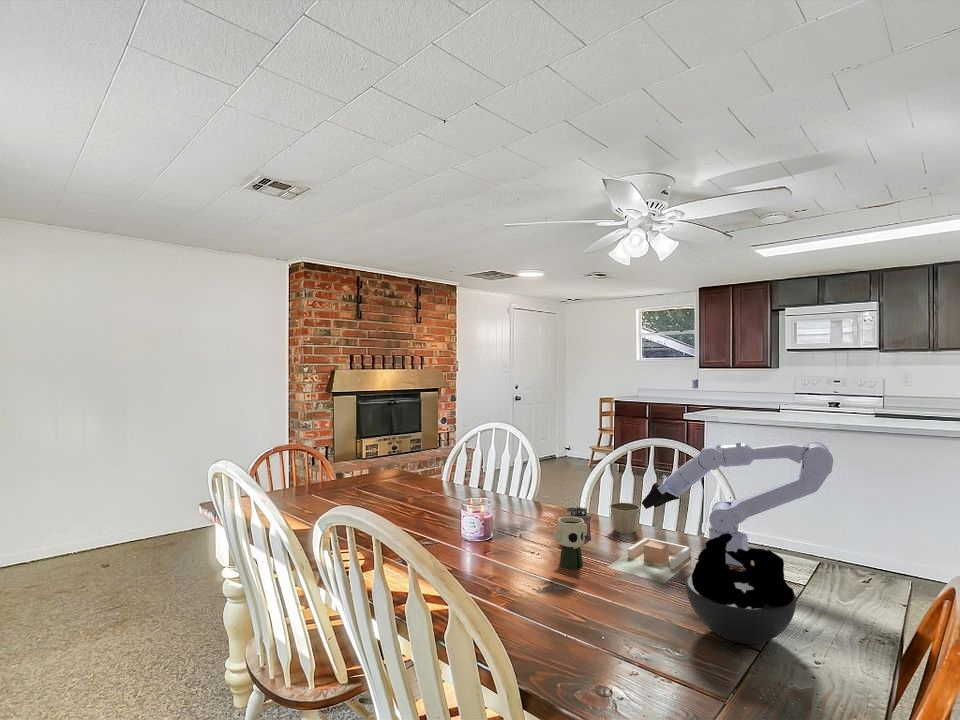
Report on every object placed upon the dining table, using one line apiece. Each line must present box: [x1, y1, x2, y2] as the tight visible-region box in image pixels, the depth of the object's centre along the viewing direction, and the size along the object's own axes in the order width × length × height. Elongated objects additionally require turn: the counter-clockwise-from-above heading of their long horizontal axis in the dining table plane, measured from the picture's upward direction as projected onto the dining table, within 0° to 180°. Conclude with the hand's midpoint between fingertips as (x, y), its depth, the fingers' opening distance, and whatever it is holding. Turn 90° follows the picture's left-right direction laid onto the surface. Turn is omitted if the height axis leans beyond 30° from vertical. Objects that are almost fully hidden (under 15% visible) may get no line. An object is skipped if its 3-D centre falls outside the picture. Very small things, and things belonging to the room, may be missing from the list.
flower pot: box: [609, 502, 641, 534], centre depth 174 cm, size 9×9×9 cm
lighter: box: [564, 505, 592, 541], centre depth 169 cm, size 8×3×10 cm, turn 84°
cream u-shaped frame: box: [627, 537, 692, 569], centre depth 150 cm, size 13×12×2 cm
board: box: [605, 551, 697, 584], centre depth 146 cm, size 16×22×1 cm
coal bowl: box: [684, 533, 797, 645], centre depth 108 cm, size 20×20×19 cm
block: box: [644, 540, 669, 564], centre depth 149 cm, size 5×5×4 cm
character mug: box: [553, 516, 587, 570], centre depth 146 cm, size 11×7×13 cm, turn 120°
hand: (648, 505), depth 158 cm, fingers open, 7 cm apart
